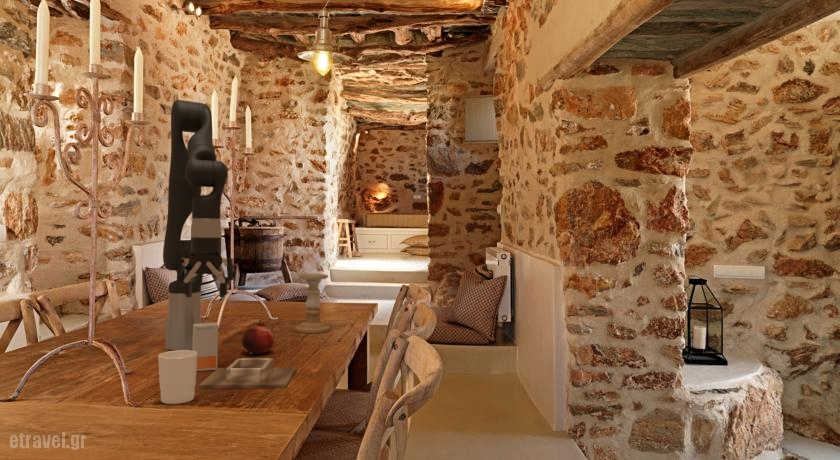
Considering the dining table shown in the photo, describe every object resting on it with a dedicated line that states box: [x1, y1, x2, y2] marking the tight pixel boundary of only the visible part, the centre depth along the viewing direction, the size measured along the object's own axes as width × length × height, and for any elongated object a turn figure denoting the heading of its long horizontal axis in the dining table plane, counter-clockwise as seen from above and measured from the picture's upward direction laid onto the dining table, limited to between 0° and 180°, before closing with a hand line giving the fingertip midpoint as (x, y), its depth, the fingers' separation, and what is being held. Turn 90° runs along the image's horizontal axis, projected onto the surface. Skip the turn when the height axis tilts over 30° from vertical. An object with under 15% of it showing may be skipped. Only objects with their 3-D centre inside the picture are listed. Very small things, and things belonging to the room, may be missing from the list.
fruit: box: [241, 320, 275, 356], centre depth 168 cm, size 9×10×10 cm
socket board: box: [198, 357, 297, 390], centre depth 140 cm, size 20×16×4 cm
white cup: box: [157, 349, 198, 405], centre depth 124 cm, size 8×8×10 cm
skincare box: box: [191, 321, 219, 372], centre depth 149 cm, size 6×4×12 cm
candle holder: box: [295, 273, 331, 334], centre depth 205 cm, size 12×12×20 cm
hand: (205, 297), depth 149 cm, fingers open, 8 cm apart
